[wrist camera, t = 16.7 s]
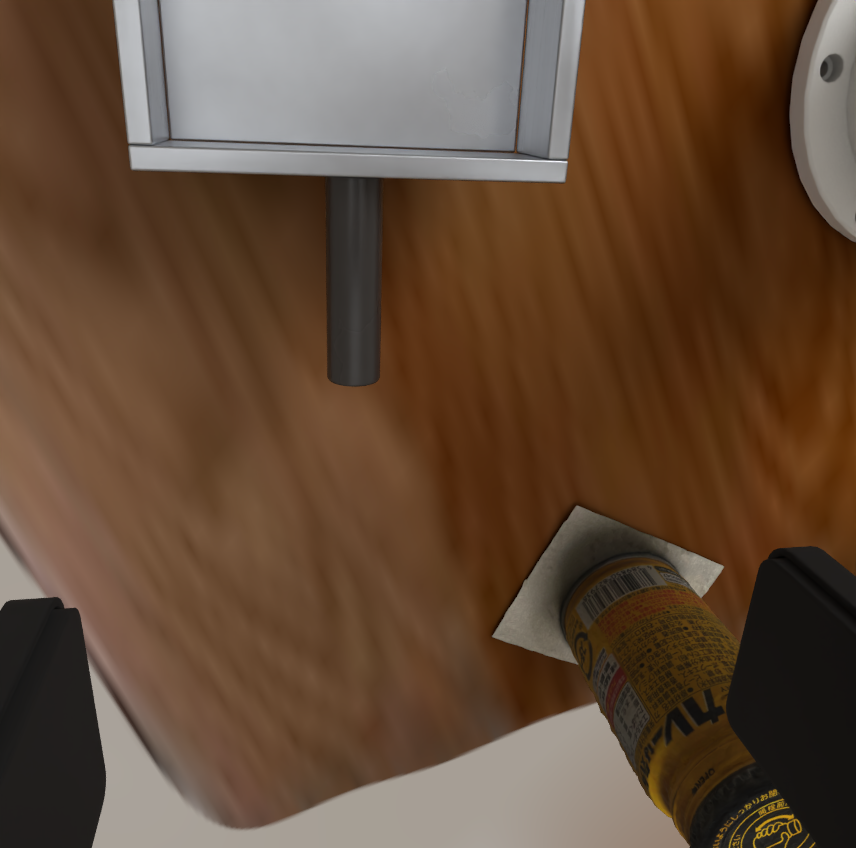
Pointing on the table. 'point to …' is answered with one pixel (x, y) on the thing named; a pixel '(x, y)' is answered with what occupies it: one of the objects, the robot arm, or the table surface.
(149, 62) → the scoop
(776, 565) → the robot arm
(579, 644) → the condiment
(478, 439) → the table surface
